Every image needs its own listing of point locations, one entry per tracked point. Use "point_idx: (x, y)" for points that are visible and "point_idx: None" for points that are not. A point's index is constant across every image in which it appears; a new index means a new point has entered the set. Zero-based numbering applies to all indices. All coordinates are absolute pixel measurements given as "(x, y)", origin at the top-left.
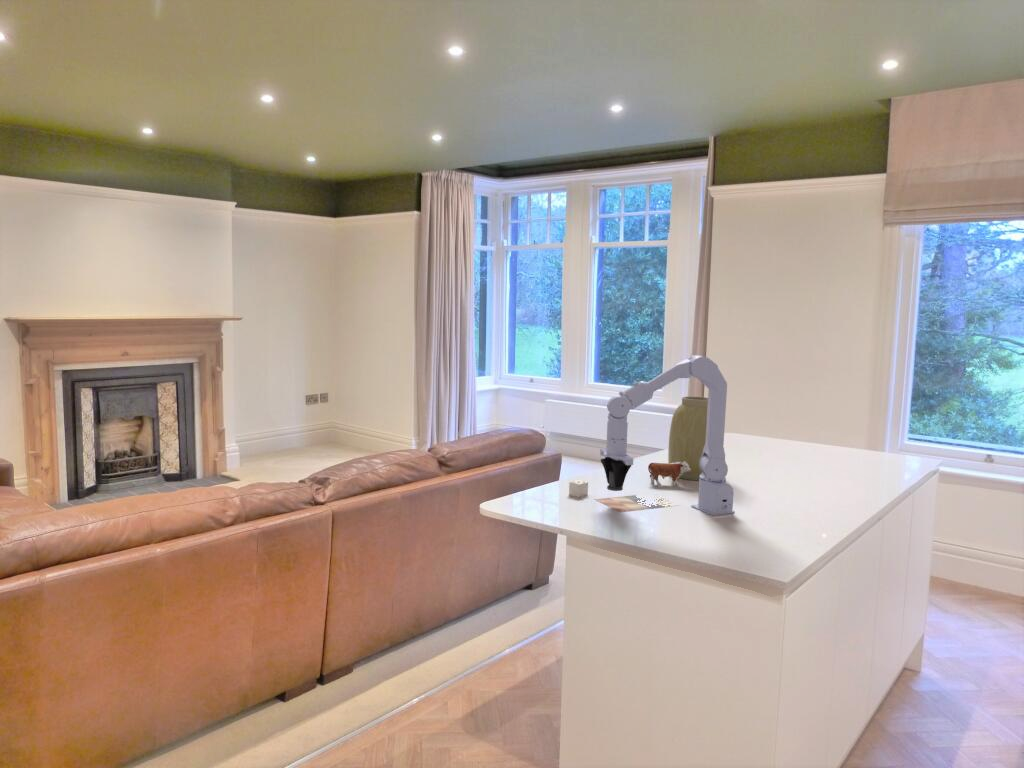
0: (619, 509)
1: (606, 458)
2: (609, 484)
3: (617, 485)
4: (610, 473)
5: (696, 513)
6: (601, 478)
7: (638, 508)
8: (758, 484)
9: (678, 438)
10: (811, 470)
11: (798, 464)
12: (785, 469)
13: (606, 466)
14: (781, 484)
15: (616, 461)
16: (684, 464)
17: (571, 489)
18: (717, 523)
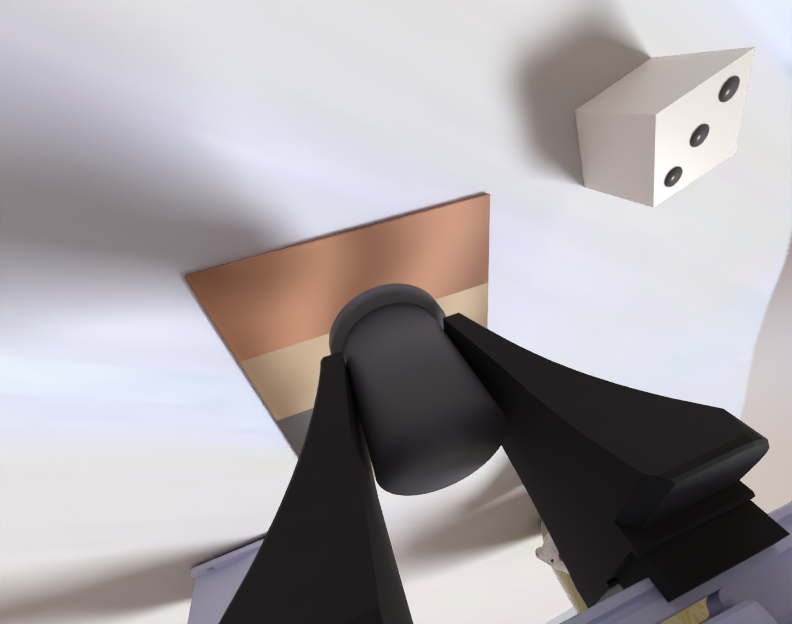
0: (252, 285)
1: (711, 514)
2: (394, 317)
3: (321, 373)
4: (425, 401)
5: (223, 533)
6: (713, 314)
7: (277, 378)
8: (475, 578)
9: (688, 616)
10: (515, 603)
11: (549, 589)
12: (536, 585)
13: (559, 422)
14: (462, 597)
15: (575, 552)
16: (559, 566)
17: (671, 67)
18: (74, 586)
